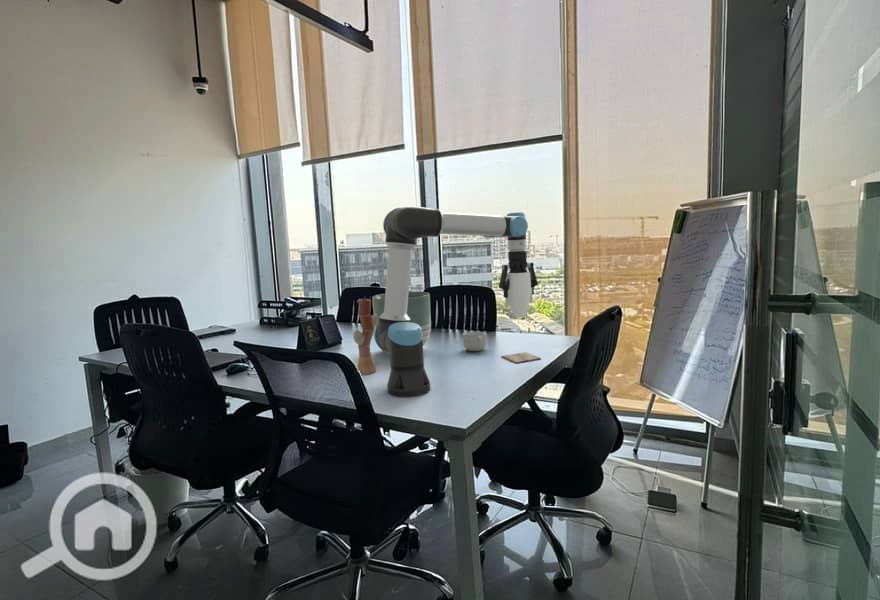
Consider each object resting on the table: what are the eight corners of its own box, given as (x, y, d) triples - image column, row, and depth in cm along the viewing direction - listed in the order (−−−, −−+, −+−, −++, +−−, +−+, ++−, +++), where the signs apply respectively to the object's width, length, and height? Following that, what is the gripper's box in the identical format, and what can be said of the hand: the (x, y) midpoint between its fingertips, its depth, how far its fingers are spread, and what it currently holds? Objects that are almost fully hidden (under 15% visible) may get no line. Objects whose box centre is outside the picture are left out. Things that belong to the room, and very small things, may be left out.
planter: (408, 342, 246) (405, 290, 242) (444, 350, 226) (441, 293, 222) (365, 353, 228) (360, 297, 224) (399, 362, 208) (395, 300, 205)
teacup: (461, 348, 228) (461, 331, 227) (484, 346, 229) (483, 330, 228) (466, 355, 214) (465, 337, 213) (490, 353, 215) (489, 335, 214)
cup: (526, 326, 195) (524, 273, 192) (503, 324, 201) (501, 273, 198) (536, 321, 203) (534, 270, 201) (513, 320, 209) (511, 271, 206)
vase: (356, 375, 191) (350, 301, 187) (355, 371, 198) (349, 299, 194) (383, 372, 193) (377, 298, 189) (381, 368, 200) (375, 296, 196)
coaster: (515, 363, 196) (515, 362, 196) (501, 357, 207) (501, 355, 207) (540, 359, 201) (540, 358, 200) (525, 353, 212) (525, 352, 212)
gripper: (497, 252, 190) (499, 307, 193) (545, 248, 199) (547, 302, 201) (488, 252, 197) (490, 305, 200) (535, 248, 205) (537, 300, 208)
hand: (519, 304), depth 201 cm, fingers closed on cup, 10 cm apart
